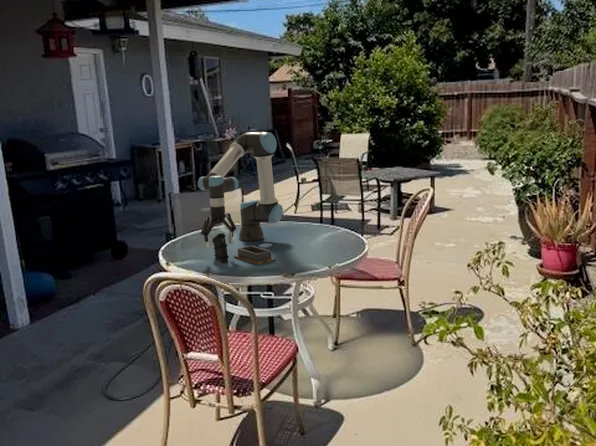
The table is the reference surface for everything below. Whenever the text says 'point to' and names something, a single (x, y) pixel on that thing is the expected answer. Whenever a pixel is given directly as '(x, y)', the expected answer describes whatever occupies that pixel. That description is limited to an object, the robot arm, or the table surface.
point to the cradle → (254, 253)
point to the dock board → (254, 261)
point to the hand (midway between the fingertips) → (219, 245)
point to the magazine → (220, 248)
